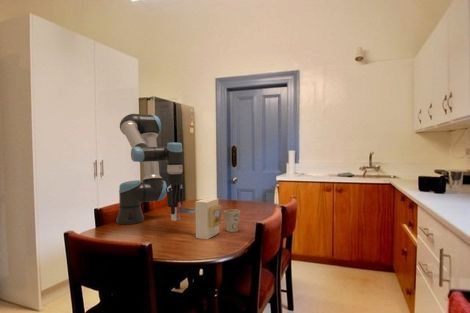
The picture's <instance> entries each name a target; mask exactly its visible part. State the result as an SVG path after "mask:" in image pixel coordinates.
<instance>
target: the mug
mask: <svg viewBox="0 0 470 313" xmlns="http://www.w3.org/2000/svg"><path fill="white" fill-rule="evenodd" d="M223 214H224V222H225V229H226V231H227V232H228V233H237V232H238V231H239V228H240V219H241V210H239V209H233V208H232V209H225V210H224V211H223Z"/></svg>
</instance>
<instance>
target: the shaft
mask: <svg viewBox="0 0 470 313" xmlns="http://www.w3.org/2000/svg"><path fill="white" fill-rule="evenodd" d="M181 205H182V204H181V202H176V207H177V218H178V219H179V218H180V219H181V217H182V214H185V215H193V216H194V215H195V216H196V207H195V208H194V207H182V206H181ZM169 209H170V210H169V213H170V216H169V217H170V219H171V207H169ZM220 214H221V215H222V211H221V212H220V210H216V211H214V216H216V217H220ZM178 219H177V220H178ZM180 219H179V220H180Z"/></svg>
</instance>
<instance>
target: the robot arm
mask: <svg viewBox="0 0 470 313" xmlns="http://www.w3.org/2000/svg"><path fill="white" fill-rule="evenodd" d="M119 122H120V123H119V129H120V132H121V133H122V134H123V135H124V136H125V138H126V139H127V141H128V143H129V145H130V147H131V149H130V158H131V160H132V162H137V163H143V165H144V166H143V168H144V177H143V178H142V181H141V180H137V179H136V180H129V181H124V182H122V183H120V184H119V189H118V193H119V194H118V195H119V198H118V199H119V202H118V203H119V210H118V213H117V217H116V224H118V225H134V224H135V225H136V224H140V223H143V222H145V215H144V214H143V210H142V203H149V202H158V201H162V200H164V199H165V197H166V200H167V207H168V208H170V207H171V218H170V220H171V221H177V220H178V221H179V220H181V218H179V219H178V218H177V207H176V202H181V207H182V206H183V202H184V190H185V185H183V184H182V181H183V180H184V179H183V176H184V175H183V144H182V143H181V142H167V146H158V143H157V142H158V141H157V138H158V137H159V135H160V133H161V131H162V122H161V120H160V118H159V116H157V115H155V114H142V113H129V114H127V115H125V116H124V117H123V118H122V119H121V120H120V121H119ZM159 162H166V165H167V168H166V172H167V174H166V176H167V182H169V183H168V186H167V182H166V181H165V180H163V177H162V176H161V175H160V167H159V166H160V164H159Z"/></svg>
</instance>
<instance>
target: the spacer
mask: <svg viewBox="0 0 470 313" xmlns="http://www.w3.org/2000/svg"><path fill="white" fill-rule="evenodd" d="M216 210H220V212H221V214H220V217H216V220H215V221H214V211H216ZM220 224H222V205H221V204H219V205H215V206H213V207H210V208H209V227H210V228H213V227H215V226H217V225H219V226H220Z"/></svg>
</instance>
